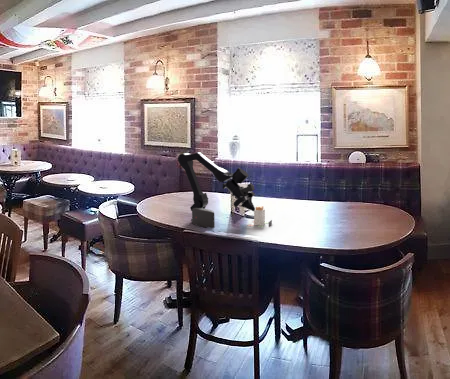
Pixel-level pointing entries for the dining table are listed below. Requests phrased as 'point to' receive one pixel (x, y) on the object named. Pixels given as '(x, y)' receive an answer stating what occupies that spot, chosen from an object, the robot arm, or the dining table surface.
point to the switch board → (262, 226)
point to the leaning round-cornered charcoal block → (203, 217)
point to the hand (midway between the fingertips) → (255, 210)
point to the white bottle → (259, 216)
